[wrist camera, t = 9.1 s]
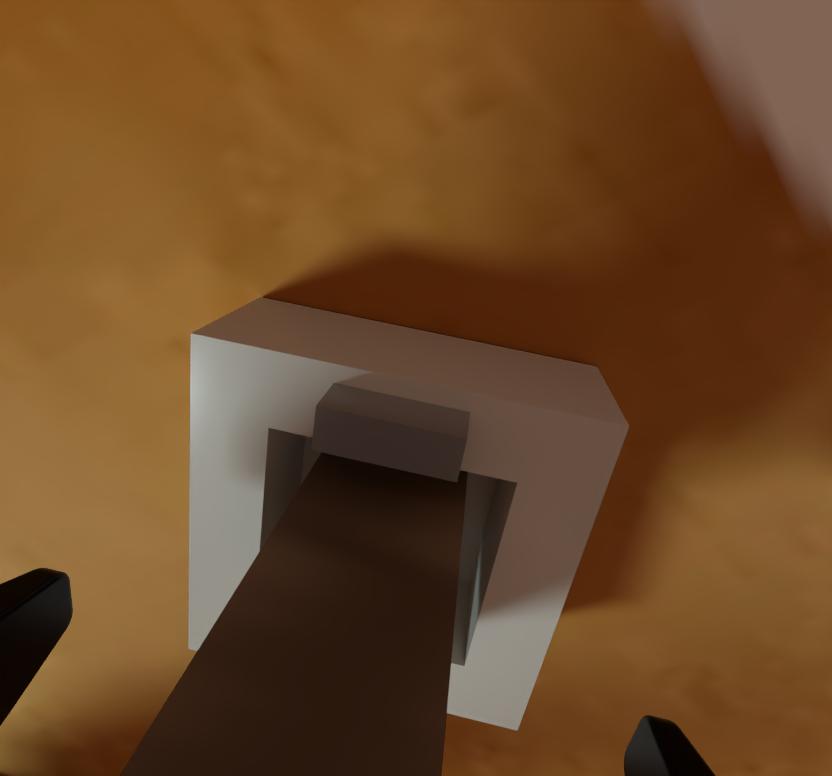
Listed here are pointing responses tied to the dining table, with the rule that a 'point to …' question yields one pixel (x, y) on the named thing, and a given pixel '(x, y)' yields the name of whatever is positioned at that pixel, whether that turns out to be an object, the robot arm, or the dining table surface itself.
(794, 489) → the dining table surface
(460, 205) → the dining table surface
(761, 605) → the dining table surface
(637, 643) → the dining table surface
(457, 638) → the white square frame
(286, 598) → the dark brown wooden beam
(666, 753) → the robot arm
